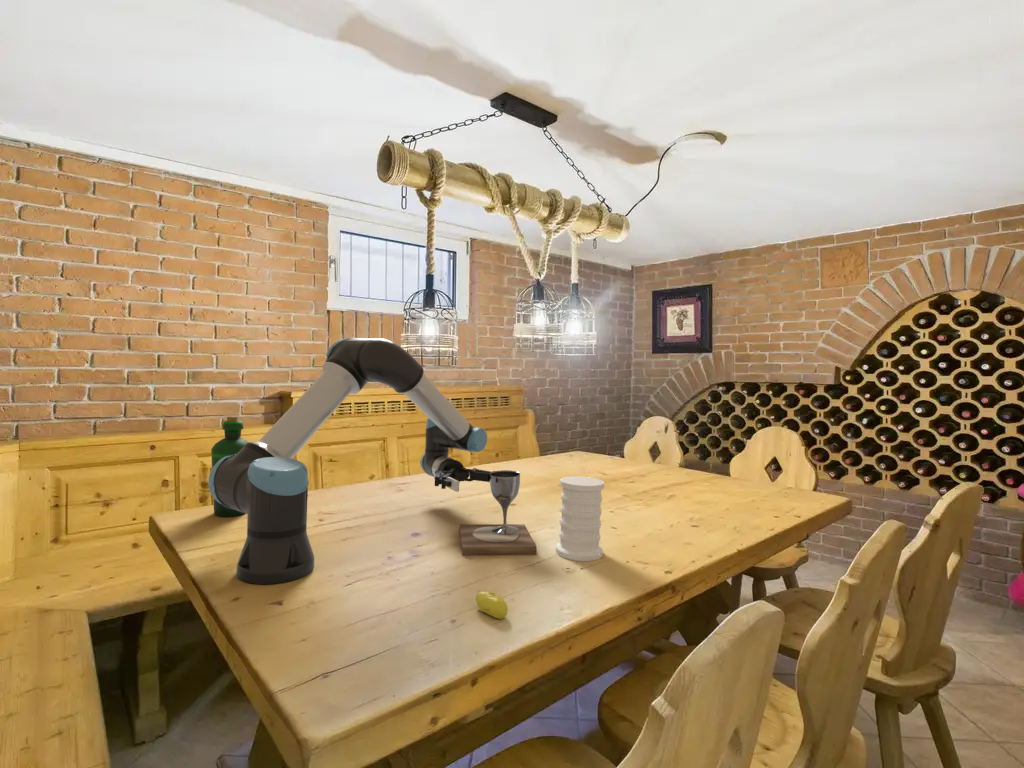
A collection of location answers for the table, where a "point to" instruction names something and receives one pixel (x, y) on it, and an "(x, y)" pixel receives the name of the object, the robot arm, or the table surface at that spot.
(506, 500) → the silver goblet
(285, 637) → the table surface
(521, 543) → the dock
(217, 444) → the bottle
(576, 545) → the decorative container
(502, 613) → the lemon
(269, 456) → the robot arm
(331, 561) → the table surface
